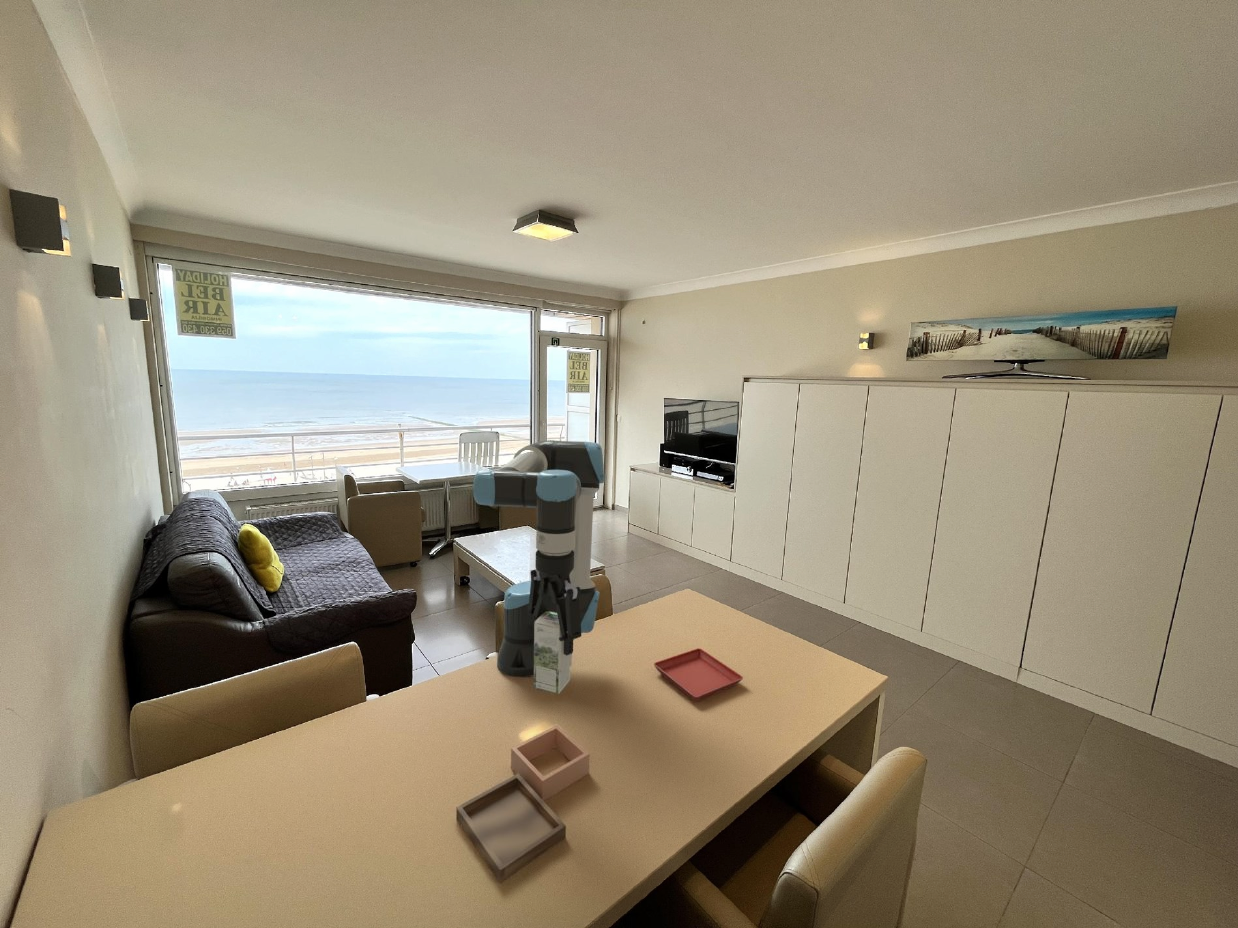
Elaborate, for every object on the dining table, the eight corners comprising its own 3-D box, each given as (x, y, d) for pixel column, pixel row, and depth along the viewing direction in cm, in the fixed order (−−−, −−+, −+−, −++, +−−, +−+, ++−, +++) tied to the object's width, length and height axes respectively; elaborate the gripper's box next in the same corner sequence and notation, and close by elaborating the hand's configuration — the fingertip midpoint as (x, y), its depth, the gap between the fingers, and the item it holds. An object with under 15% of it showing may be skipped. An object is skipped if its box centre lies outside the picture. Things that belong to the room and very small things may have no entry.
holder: (510, 767, 106) (511, 747, 105) (556, 743, 114) (556, 724, 113) (542, 801, 98) (542, 780, 97) (588, 773, 105) (589, 753, 105)
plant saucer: (743, 687, 139) (744, 676, 139) (694, 708, 129) (695, 696, 129) (698, 657, 154) (699, 647, 153) (651, 673, 144) (652, 663, 143)
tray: (456, 818, 93) (456, 807, 93) (518, 783, 102) (518, 773, 101) (500, 883, 81) (500, 870, 81) (565, 837, 90) (565, 825, 90)
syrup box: (570, 680, 105) (572, 614, 103) (558, 696, 99) (559, 626, 97) (546, 674, 107) (547, 609, 104) (532, 689, 101) (533, 621, 99)
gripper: (511, 540, 104) (509, 644, 107) (571, 569, 89) (568, 689, 92) (541, 534, 109) (539, 633, 112) (604, 560, 94) (599, 674, 97)
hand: (552, 658), depth 102 cm, fingers closed on syrup box, 8 cm apart
